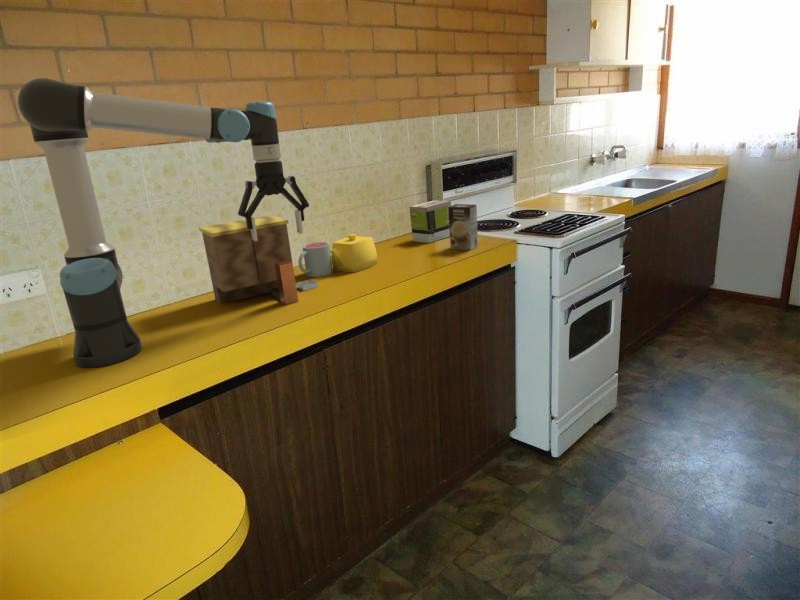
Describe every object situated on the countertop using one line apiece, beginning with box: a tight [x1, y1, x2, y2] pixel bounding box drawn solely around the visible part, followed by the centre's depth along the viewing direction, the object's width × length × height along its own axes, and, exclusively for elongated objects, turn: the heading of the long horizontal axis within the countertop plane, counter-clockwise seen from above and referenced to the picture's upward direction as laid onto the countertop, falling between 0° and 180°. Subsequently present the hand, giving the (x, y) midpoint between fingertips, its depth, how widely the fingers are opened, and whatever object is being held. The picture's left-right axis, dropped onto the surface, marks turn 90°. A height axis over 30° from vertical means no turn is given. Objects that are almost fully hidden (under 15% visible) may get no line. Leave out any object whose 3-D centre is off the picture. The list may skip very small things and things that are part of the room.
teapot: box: [330, 233, 378, 274], centre depth 202 cm, size 20×12×12 cm, turn 142°
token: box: [296, 279, 319, 292], centre depth 184 cm, size 5×5×2 cm
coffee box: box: [448, 203, 479, 251], centre depth 214 cm, size 9×6×16 cm
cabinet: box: [199, 215, 293, 305], centre depth 176 cm, size 23×15×23 cm, turn 121°
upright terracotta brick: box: [270, 260, 299, 305], centre depth 173 cm, size 4×14×12 cm, turn 32°
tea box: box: [408, 199, 452, 244], centre depth 235 cm, size 15×10×15 cm
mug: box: [298, 241, 334, 278], centre depth 197 cm, size 14×9×10 cm
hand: (278, 236), depth 165 cm, fingers open, 13 cm apart
